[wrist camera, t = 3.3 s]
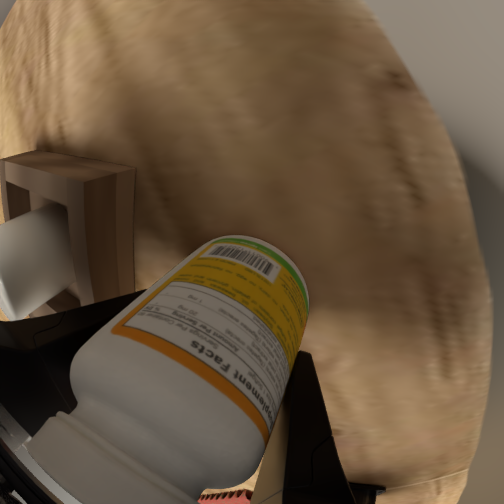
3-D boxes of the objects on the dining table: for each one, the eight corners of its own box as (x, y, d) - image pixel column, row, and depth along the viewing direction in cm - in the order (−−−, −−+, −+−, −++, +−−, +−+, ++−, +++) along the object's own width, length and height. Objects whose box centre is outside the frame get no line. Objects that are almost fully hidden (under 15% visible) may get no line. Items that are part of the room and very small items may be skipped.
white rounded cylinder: (81, 213, 11) (-3, 253, 7) (90, 292, 14) (27, 340, 9) (38, 196, 12) (-29, 224, 8) (47, 264, 15) (-8, 298, 10)
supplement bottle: (227, 350, 13) (121, 514, 5) (169, 258, 12) (-7, 404, 4) (330, 328, 11) (259, 575, 2) (274, 209, 10) (24, 471, 1)
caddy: (135, 167, 11) (83, 182, 8) (150, 409, 20) (132, 433, 17) (35, 150, 13) (-1, 159, 10) (72, 357, 22) (54, 373, 19)
